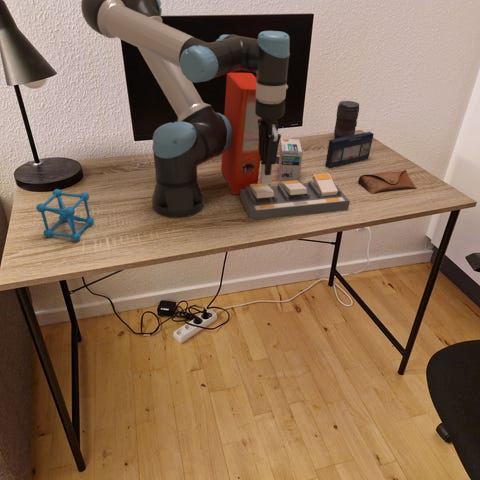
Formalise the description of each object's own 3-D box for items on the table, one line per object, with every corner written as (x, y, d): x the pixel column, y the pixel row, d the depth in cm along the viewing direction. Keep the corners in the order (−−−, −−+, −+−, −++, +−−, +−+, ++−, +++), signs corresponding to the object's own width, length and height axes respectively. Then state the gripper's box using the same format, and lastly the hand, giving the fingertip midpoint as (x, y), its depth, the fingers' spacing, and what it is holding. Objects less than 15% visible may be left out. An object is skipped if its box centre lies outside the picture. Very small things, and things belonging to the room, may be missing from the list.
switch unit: (250, 220, 123) (251, 206, 120) (240, 197, 133) (240, 184, 130) (348, 209, 129) (350, 196, 126) (330, 189, 139) (332, 176, 137)
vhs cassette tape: (329, 169, 151) (333, 142, 146) (323, 165, 153) (328, 139, 148) (369, 160, 158) (375, 134, 153) (363, 157, 161) (369, 131, 155)
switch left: (257, 198, 123) (257, 192, 122) (249, 189, 130) (249, 184, 129) (273, 196, 124) (273, 190, 123) (265, 188, 131) (265, 182, 130)
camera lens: (341, 135, 177) (347, 98, 168) (357, 141, 172) (364, 104, 163) (328, 140, 173) (333, 102, 164) (344, 146, 168) (351, 108, 159)
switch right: (321, 196, 129) (322, 192, 127) (312, 178, 133) (313, 174, 132) (336, 194, 130) (338, 190, 128) (327, 176, 134) (328, 172, 133)
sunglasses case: (370, 195, 137) (368, 173, 136) (359, 195, 143) (356, 175, 143) (419, 188, 141) (417, 167, 141) (405, 189, 148) (403, 169, 147)
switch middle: (290, 195, 125) (290, 189, 124) (281, 186, 132) (281, 181, 131) (306, 193, 126) (306, 187, 125) (296, 185, 133) (297, 179, 132)
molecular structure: (62, 218, 121) (54, 186, 115) (96, 223, 119) (89, 191, 114) (42, 238, 113) (33, 205, 107) (78, 243, 111) (71, 210, 106)
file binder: (243, 169, 149) (251, 72, 131) (257, 193, 136) (268, 89, 117) (221, 170, 147) (226, 72, 129) (232, 194, 134) (239, 89, 116)
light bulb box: (299, 182, 143) (303, 151, 136) (279, 181, 143) (282, 150, 136) (297, 167, 151) (300, 138, 145) (277, 167, 151) (280, 137, 145)
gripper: (293, 106, 104) (285, 192, 118) (276, 91, 115) (271, 172, 128) (263, 108, 103) (259, 195, 116) (249, 92, 113) (247, 174, 127)
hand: (265, 183), depth 122 cm, fingers closed
